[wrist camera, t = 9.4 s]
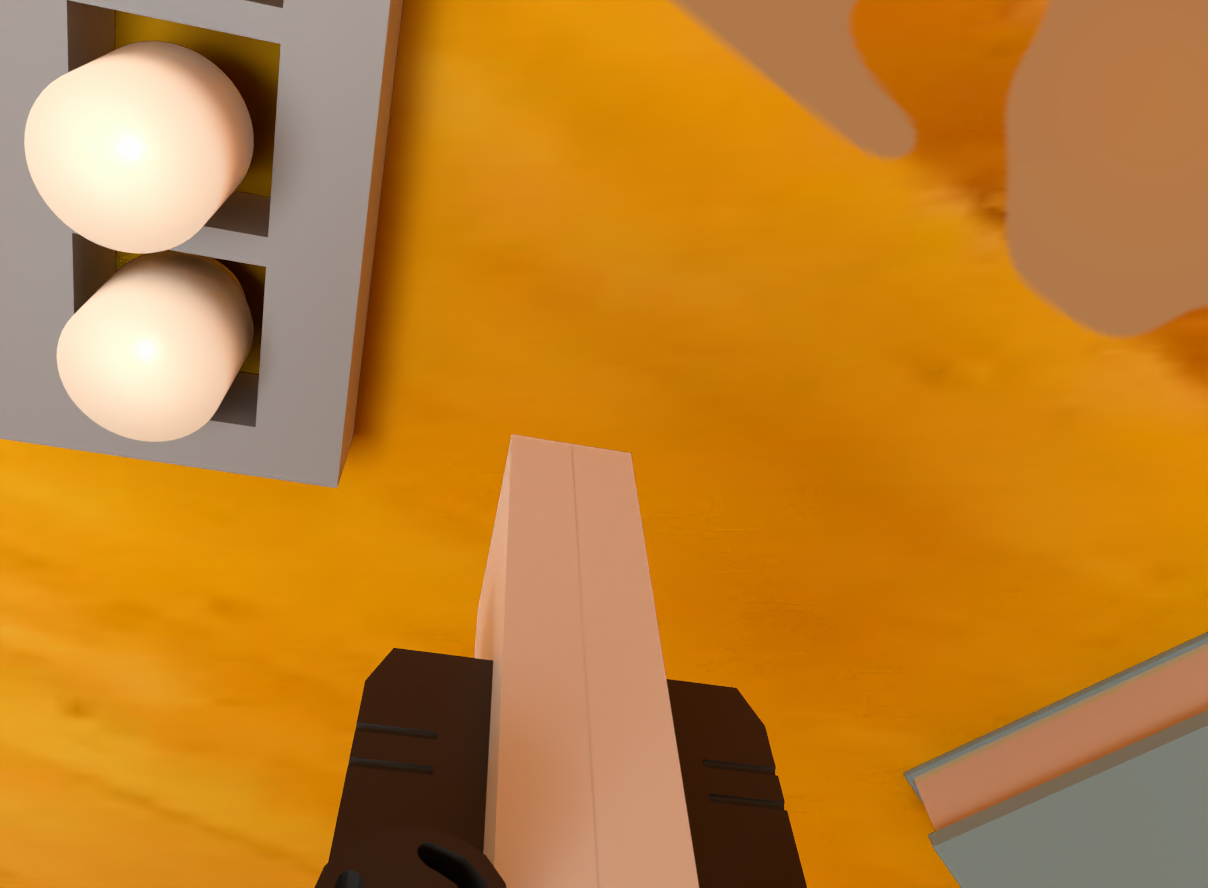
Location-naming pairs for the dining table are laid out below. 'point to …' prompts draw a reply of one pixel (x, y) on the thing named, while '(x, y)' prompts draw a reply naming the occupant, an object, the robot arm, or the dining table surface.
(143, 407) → the button
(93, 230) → the button mid
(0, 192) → the gray compartment tray
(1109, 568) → the dining table surface
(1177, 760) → the book
